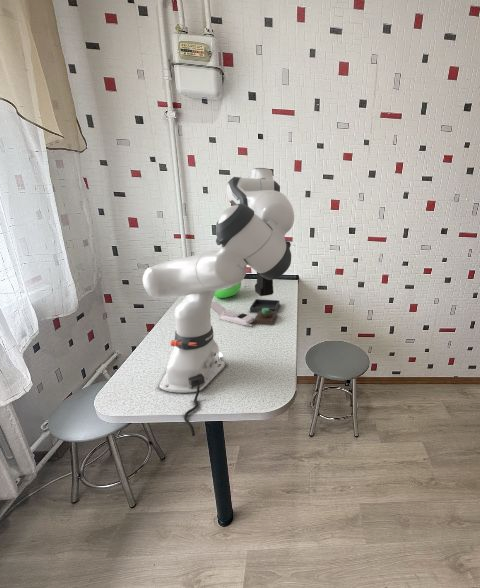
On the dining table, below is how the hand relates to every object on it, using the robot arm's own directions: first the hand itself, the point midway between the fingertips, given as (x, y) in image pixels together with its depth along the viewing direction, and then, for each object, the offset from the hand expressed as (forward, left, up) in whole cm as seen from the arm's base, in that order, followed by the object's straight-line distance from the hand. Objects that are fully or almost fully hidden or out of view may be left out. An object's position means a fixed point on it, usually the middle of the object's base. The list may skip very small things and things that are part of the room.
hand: (263, 246), depth 134 cm
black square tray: (+18, +5, -36) cm, 41 cm away
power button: (+6, +2, -33) cm, 33 cm away
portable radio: (0, 0, -21) cm, 21 cm away
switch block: (+6, +2, -36) cm, 37 cm away
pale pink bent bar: (+4, +17, -36) cm, 40 cm away
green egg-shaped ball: (+31, +30, -36) cm, 56 cm away
